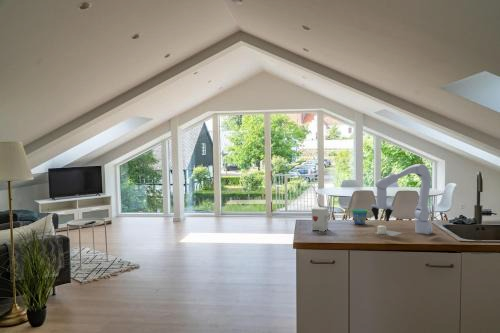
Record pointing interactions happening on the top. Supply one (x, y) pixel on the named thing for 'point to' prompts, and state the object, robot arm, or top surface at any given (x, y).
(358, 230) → the top surface
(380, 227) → the cap
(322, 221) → the supplement box
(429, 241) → the top surface
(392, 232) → the board
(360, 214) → the snack cup
